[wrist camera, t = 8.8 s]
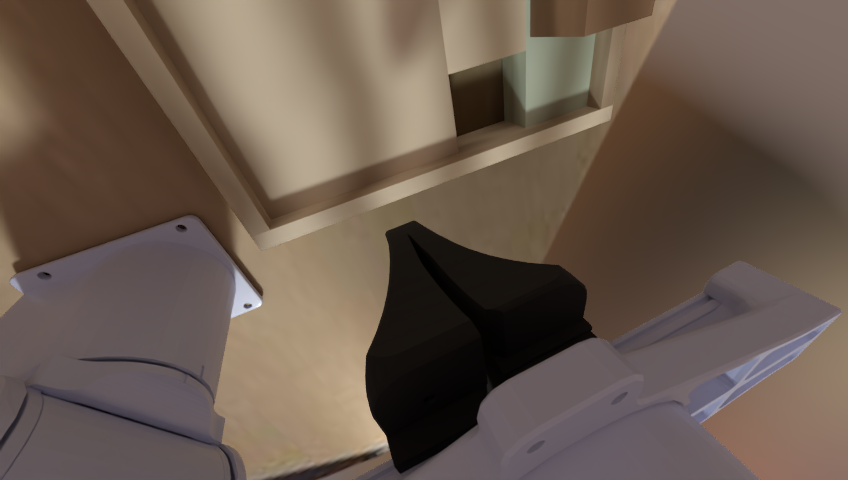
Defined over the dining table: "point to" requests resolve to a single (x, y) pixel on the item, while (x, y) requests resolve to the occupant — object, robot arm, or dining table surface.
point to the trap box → (351, 95)
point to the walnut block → (583, 16)
